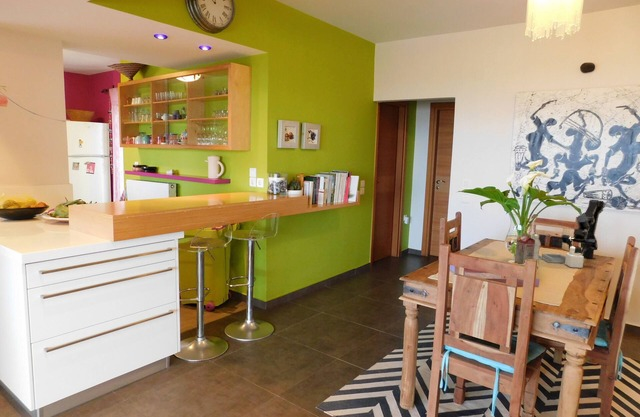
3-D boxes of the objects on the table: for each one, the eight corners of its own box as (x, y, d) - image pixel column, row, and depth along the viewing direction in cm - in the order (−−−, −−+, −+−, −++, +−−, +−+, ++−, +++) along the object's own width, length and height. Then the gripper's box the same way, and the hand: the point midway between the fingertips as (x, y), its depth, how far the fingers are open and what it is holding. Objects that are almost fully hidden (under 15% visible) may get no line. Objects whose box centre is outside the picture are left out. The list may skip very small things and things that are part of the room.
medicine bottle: (576, 264, 263) (579, 245, 261) (582, 267, 256) (585, 248, 254) (564, 264, 264) (566, 245, 262) (570, 267, 256) (572, 247, 255)
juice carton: (522, 273, 242) (526, 235, 238) (513, 269, 248) (517, 232, 245) (531, 272, 243) (535, 234, 240) (523, 269, 250) (527, 232, 247)
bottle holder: (537, 257, 280) (538, 253, 279) (562, 258, 279) (563, 254, 279) (548, 263, 266) (548, 258, 265) (574, 264, 265) (575, 259, 265)
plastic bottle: (539, 268, 252) (543, 235, 249) (527, 267, 253) (531, 234, 250) (536, 266, 258) (540, 233, 255) (524, 265, 259) (528, 232, 256)
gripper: (564, 221, 266) (556, 241, 260) (598, 226, 253) (591, 247, 247) (566, 232, 273) (559, 252, 267) (600, 237, 260) (593, 258, 254)
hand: (575, 252), depth 258 cm, fingers closed on medicine bottle, 6 cm apart
